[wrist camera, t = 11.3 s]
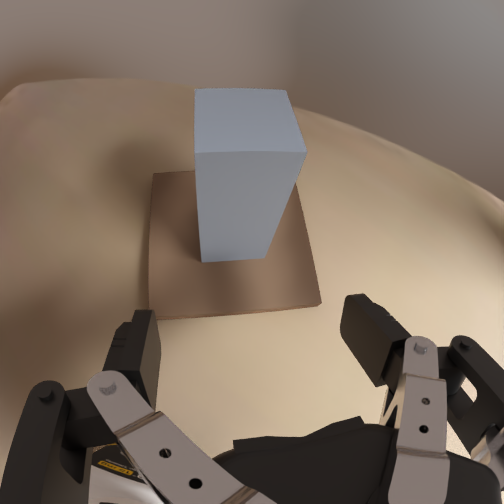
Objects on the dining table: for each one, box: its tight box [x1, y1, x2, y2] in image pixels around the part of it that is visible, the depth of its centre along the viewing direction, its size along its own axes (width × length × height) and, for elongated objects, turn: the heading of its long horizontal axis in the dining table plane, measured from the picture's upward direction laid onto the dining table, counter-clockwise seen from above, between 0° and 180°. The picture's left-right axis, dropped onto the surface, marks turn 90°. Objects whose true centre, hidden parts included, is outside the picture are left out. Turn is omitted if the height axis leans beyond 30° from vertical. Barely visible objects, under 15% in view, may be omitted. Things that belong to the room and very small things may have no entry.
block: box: [194, 88, 307, 262], centre depth 17 cm, size 4×4×11 cm
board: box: [148, 171, 322, 320], centre depth 22 cm, size 12×12×1 cm
